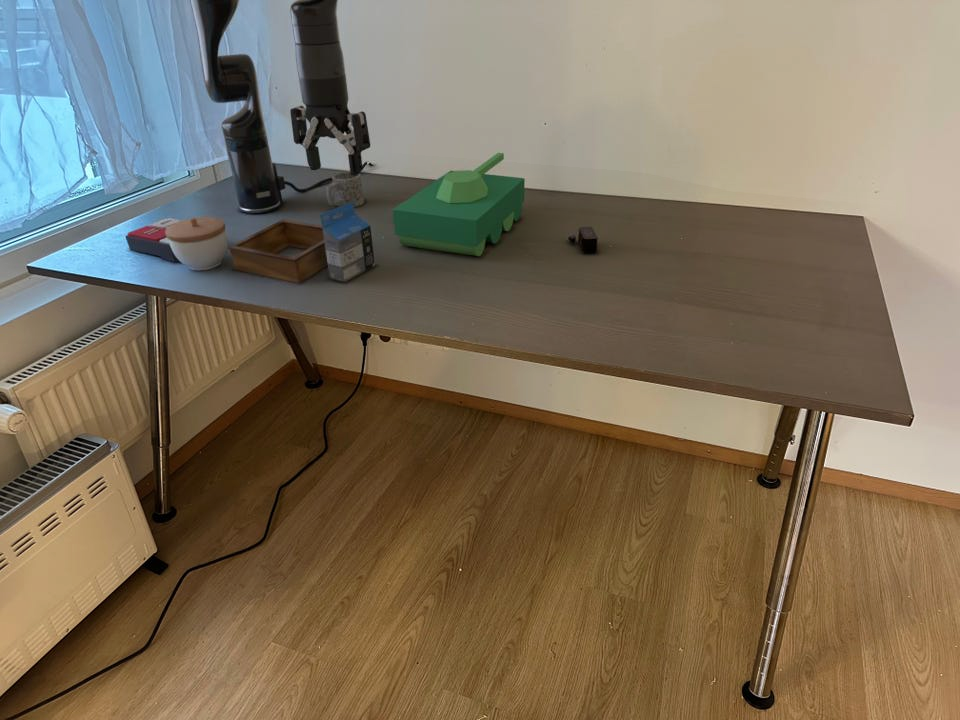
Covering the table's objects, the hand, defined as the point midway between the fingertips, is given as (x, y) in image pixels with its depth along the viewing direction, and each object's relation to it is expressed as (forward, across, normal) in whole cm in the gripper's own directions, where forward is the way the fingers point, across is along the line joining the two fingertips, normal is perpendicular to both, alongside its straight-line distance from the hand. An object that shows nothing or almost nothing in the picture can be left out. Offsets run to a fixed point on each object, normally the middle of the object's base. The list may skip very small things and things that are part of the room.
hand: (335, 171), depth 116 cm
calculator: (+19, +41, +5) cm, 45 cm away
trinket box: (+19, +28, +9) cm, 35 cm away
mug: (+20, +22, -30) cm, 42 cm away
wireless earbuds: (+19, -38, -27) cm, 50 cm away
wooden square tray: (+19, +13, +1) cm, 23 cm away
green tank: (+19, -12, -29) cm, 37 cm away
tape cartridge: (+19, -2, +1) cm, 19 cm away
